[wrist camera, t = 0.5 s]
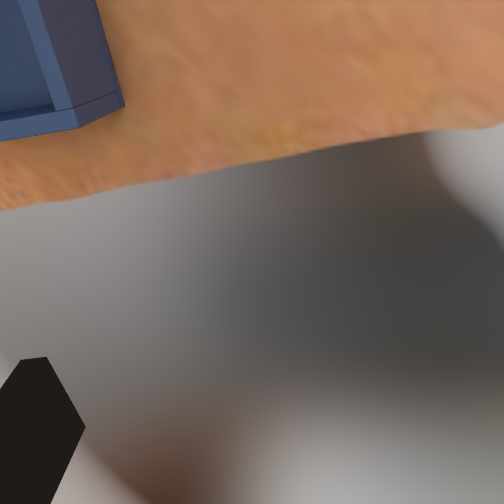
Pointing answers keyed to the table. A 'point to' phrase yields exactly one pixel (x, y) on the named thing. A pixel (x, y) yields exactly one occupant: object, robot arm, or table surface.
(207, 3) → the table surface
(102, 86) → the bin
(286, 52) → the table surface
